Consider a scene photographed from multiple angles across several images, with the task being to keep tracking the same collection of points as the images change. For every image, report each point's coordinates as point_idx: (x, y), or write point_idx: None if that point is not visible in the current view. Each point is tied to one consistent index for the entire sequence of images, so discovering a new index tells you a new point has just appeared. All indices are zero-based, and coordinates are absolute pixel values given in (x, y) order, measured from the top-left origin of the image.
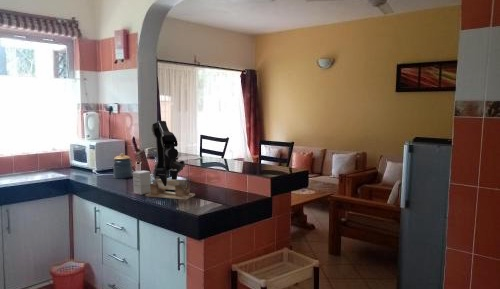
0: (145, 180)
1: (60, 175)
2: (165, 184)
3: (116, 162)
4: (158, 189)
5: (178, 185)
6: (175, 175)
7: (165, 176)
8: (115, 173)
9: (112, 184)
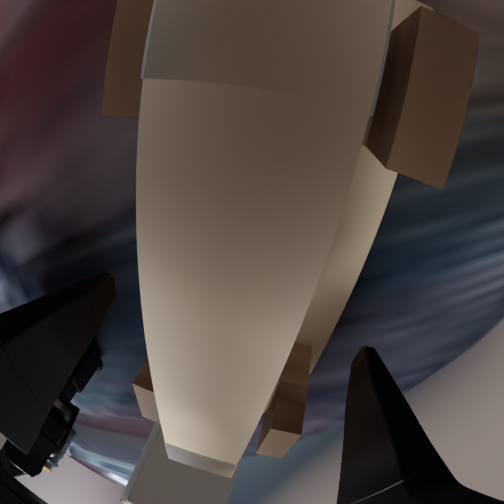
0: (194, 472)
1: (118, 477)
2: (381, 371)
3: (55, 464)
4: None
5: (427, 114)
6: (27, 344)
7: (472, 496)
8: (69, 443)
9: (127, 450)
